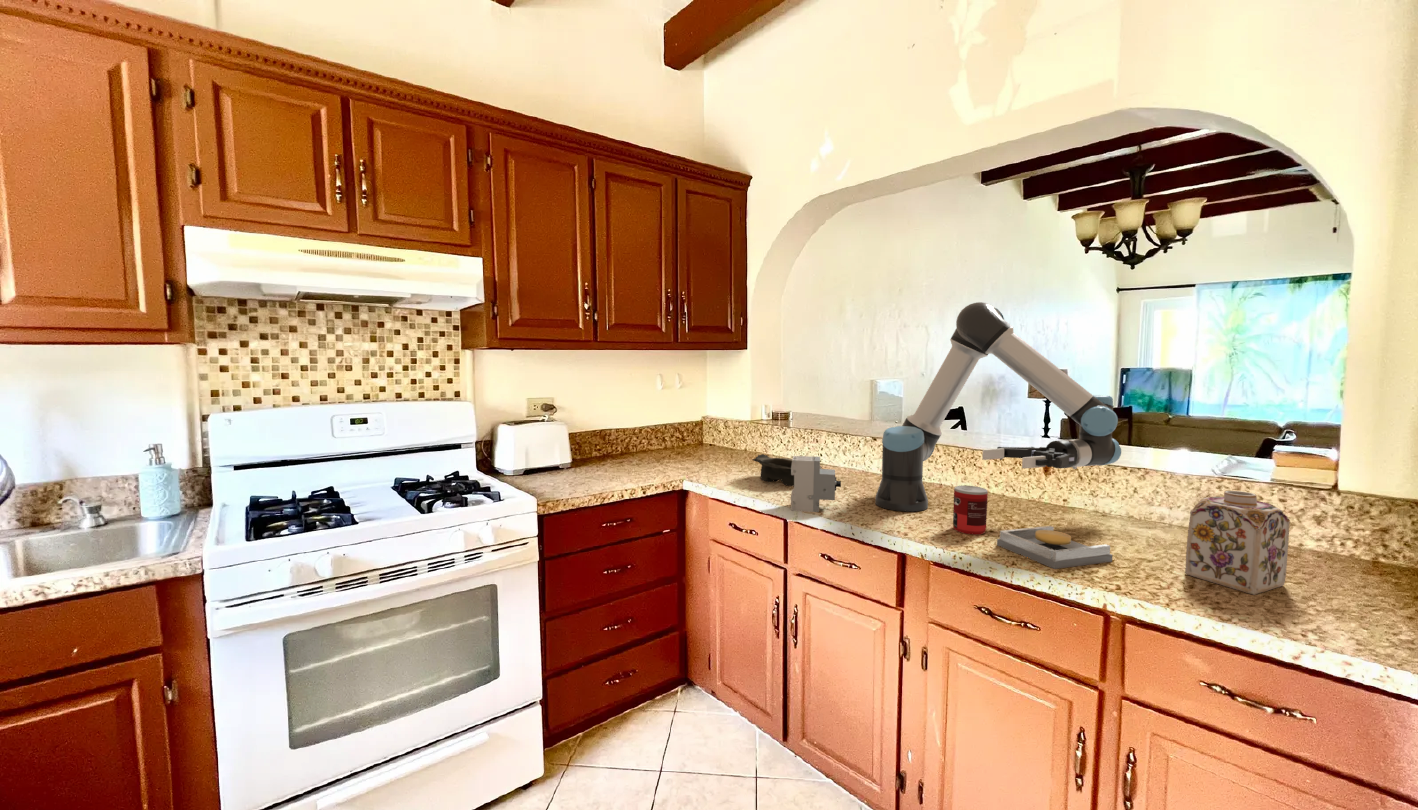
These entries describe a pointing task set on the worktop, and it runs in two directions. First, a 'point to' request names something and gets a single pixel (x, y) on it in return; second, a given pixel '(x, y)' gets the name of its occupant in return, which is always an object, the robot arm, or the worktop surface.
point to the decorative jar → (1238, 542)
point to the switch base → (1059, 556)
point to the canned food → (970, 509)
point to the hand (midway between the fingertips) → (1002, 458)
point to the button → (1053, 538)
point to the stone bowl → (776, 469)
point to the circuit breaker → (811, 484)
